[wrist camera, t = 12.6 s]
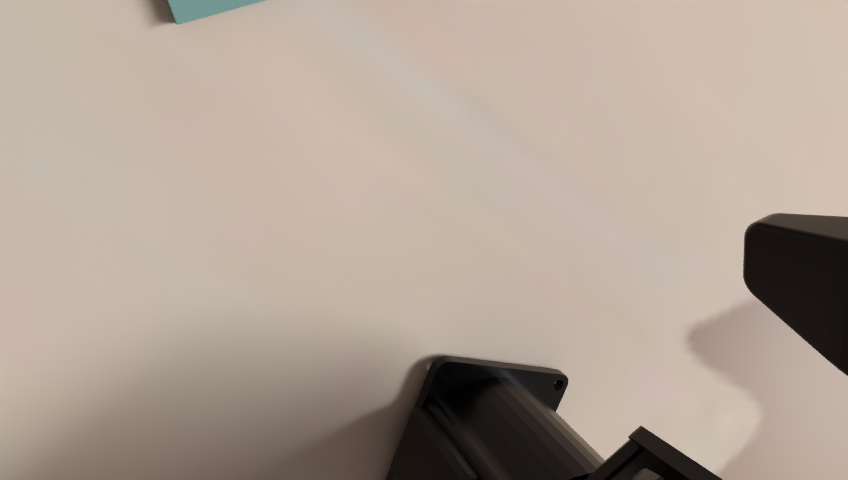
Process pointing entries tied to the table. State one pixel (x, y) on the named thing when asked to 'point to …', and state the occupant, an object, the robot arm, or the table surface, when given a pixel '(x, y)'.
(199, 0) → the teal mat
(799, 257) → the robot arm
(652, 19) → the table surface
